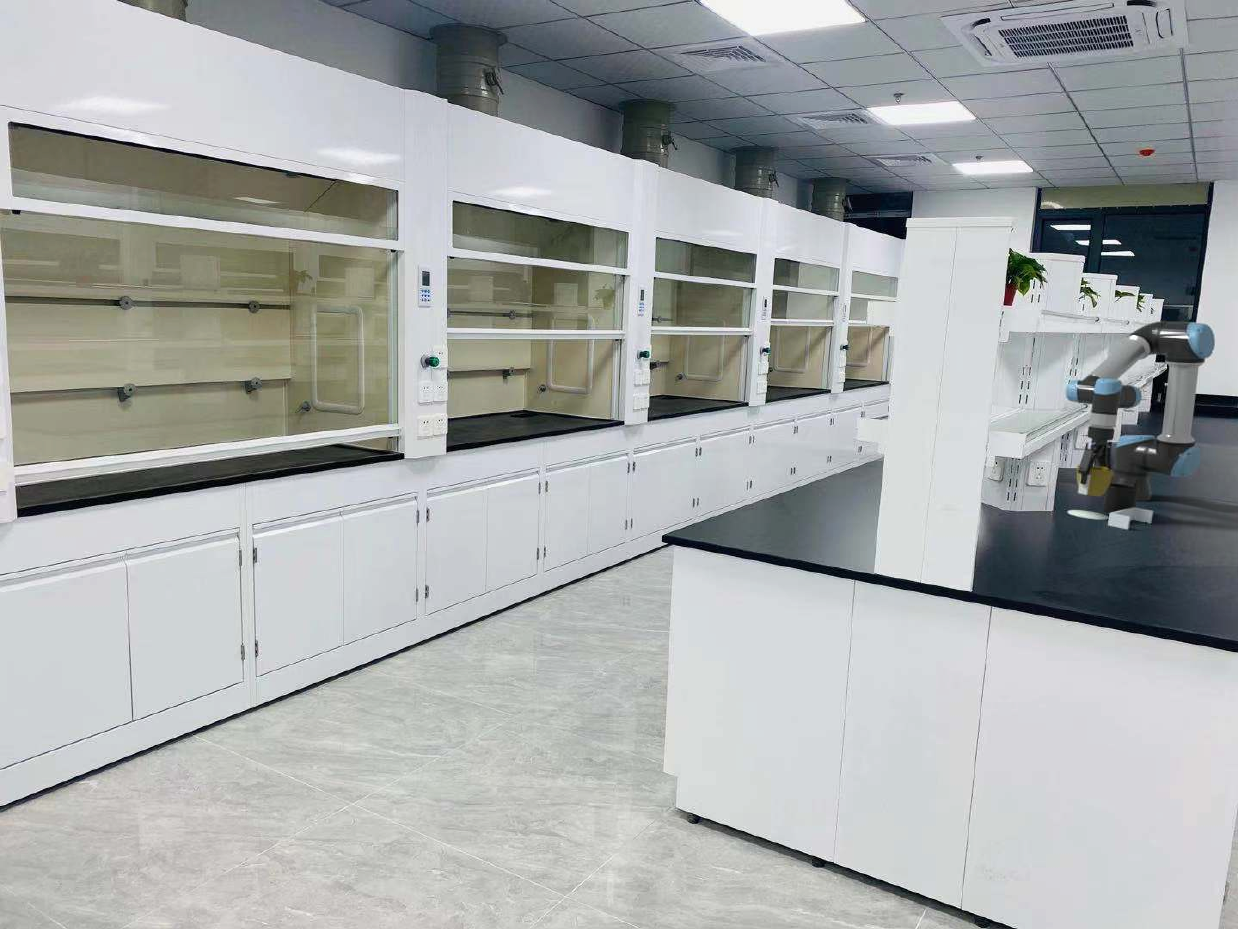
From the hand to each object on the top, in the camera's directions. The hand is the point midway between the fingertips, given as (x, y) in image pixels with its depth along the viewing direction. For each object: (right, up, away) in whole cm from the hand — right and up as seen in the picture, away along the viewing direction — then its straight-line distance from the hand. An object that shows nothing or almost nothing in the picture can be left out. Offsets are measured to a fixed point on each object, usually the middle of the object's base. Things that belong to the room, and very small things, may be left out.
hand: (1091, 492), depth 291 cm
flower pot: (0, -1, 0) cm, 1 cm away
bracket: (+8, -10, -8) cm, 15 cm away
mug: (+15, -7, +10) cm, 19 cm away
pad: (0, -8, +1) cm, 8 cm away
